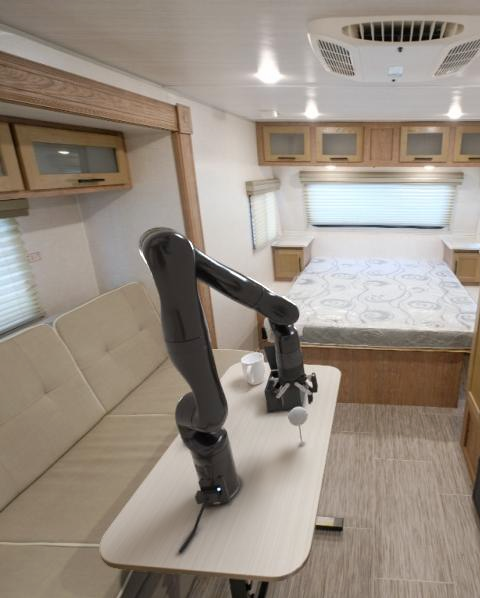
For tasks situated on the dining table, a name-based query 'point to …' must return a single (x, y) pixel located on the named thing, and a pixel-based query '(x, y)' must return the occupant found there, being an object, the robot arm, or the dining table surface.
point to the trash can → (290, 397)
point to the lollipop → (298, 418)
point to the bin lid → (271, 356)
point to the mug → (253, 367)
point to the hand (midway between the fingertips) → (296, 403)
